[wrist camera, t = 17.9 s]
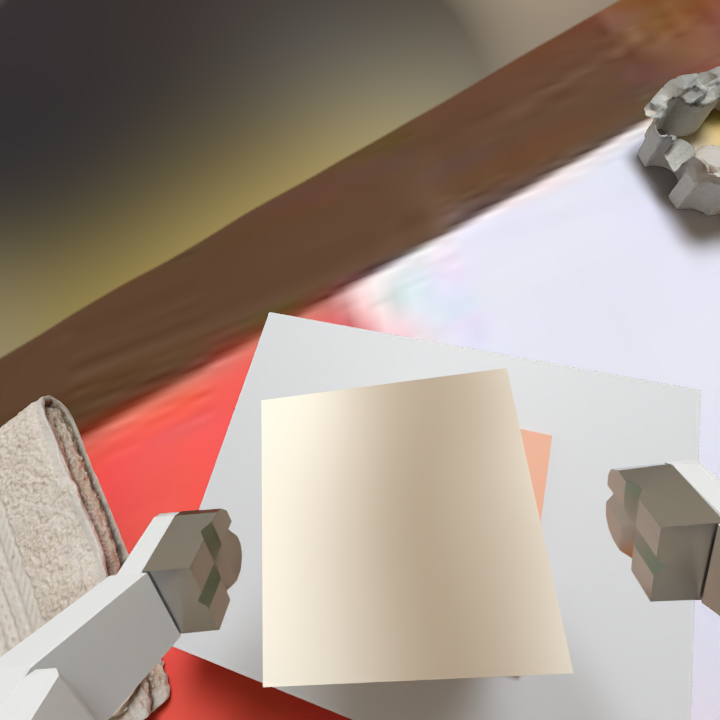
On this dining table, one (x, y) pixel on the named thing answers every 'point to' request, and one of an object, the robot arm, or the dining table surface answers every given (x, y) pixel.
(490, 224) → the dining table surface
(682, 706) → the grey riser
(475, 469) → the block
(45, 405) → the washcloth
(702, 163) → the egg carton
